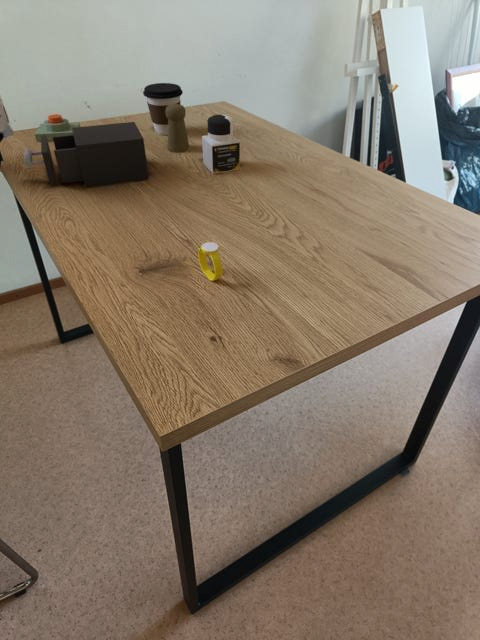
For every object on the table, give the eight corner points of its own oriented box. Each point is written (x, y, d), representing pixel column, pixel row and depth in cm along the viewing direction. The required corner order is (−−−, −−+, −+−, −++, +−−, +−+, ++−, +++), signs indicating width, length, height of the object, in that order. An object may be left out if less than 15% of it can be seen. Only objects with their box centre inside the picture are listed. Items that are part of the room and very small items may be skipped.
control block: (36, 142, 126) (32, 127, 123) (42, 131, 132) (38, 117, 130) (77, 140, 127) (74, 125, 124) (80, 129, 134) (77, 115, 131)
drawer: (30, 190, 100) (19, 155, 95) (30, 170, 108) (20, 137, 103) (112, 179, 105) (106, 145, 100) (106, 161, 113) (100, 129, 108)
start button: (48, 125, 126) (46, 118, 125) (50, 121, 128) (48, 114, 127) (61, 124, 126) (60, 117, 125) (63, 120, 129) (62, 114, 128)
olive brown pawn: (163, 150, 121) (158, 106, 114) (174, 143, 126) (170, 100, 119) (183, 153, 120) (179, 109, 113) (193, 146, 124) (190, 103, 117)
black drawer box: (85, 188, 103) (75, 145, 97) (81, 167, 112) (72, 127, 106) (148, 179, 107) (143, 138, 101) (139, 160, 116) (134, 121, 110)
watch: (195, 270, 78) (193, 240, 74) (209, 265, 79) (207, 235, 75) (212, 287, 74) (210, 257, 70) (226, 282, 75) (226, 252, 72)
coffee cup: (148, 126, 137) (143, 82, 129) (185, 125, 138) (182, 82, 130) (147, 138, 128) (141, 93, 121) (185, 137, 129) (182, 92, 121)
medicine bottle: (213, 174, 109) (211, 123, 102) (203, 164, 114) (200, 114, 107) (240, 170, 112) (240, 119, 104) (229, 160, 117) (228, 110, 109)
